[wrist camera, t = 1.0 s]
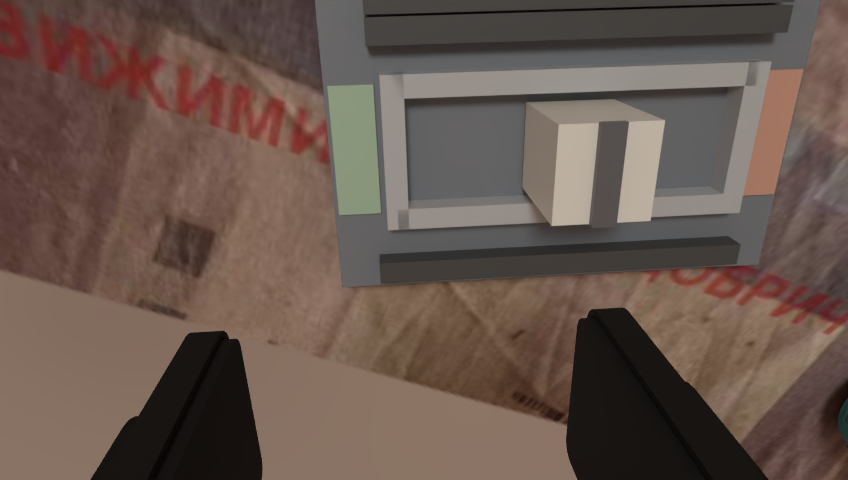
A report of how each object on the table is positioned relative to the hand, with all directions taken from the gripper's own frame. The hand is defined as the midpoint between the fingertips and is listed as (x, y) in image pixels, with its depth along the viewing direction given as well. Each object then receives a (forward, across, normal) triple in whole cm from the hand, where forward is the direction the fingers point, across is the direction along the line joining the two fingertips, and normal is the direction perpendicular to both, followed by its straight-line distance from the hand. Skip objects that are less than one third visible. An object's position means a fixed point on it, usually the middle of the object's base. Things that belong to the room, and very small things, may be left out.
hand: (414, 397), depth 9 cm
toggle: (+17, -8, 0) cm, 19 cm away
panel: (+20, -8, 0) cm, 21 cm away
